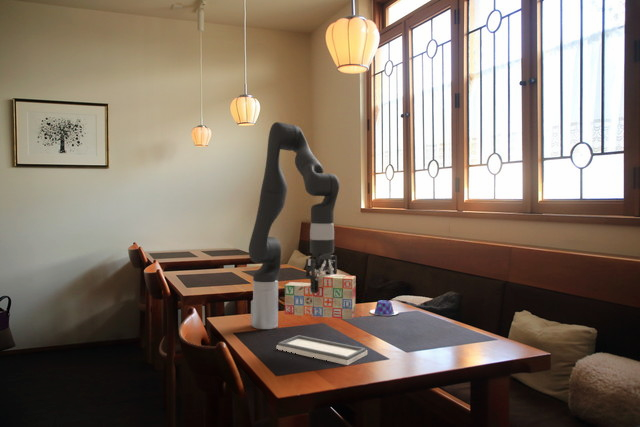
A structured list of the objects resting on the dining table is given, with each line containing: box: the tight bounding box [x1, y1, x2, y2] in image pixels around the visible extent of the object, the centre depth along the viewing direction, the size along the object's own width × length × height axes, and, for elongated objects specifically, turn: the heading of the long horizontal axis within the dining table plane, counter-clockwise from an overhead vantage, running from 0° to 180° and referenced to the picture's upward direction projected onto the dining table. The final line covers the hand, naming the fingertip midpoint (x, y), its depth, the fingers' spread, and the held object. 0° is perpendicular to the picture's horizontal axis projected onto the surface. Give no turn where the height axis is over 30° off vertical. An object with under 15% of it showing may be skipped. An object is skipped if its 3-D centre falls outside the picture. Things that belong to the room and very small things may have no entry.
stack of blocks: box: [284, 273, 357, 320], centre depth 153 cm, size 21×6×12 cm, turn 77°
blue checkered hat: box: [369, 299, 399, 317], centre depth 207 cm, size 12×12×5 cm
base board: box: [276, 334, 369, 366], centre depth 153 cm, size 26×12×2 cm, turn 56°
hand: (321, 290), depth 153 cm, fingers closed on stack of blocks, 7 cm apart
